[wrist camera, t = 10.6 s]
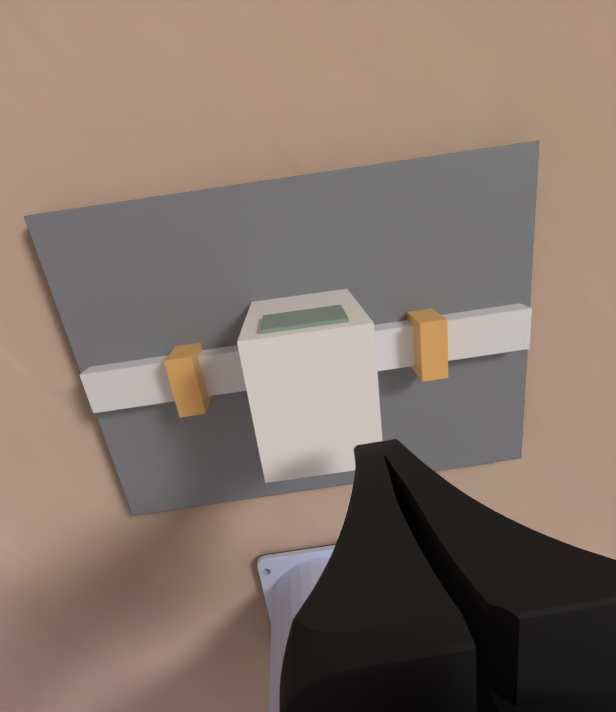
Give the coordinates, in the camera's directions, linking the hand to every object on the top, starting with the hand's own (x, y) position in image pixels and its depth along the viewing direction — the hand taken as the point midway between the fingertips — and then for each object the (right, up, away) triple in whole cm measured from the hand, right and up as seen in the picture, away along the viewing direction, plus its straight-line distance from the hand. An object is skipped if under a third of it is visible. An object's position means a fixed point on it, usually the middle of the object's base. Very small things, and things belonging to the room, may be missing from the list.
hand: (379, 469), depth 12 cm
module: (-2, +4, +7) cm, 9 cm away
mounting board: (-2, +4, +8) cm, 10 cm away
